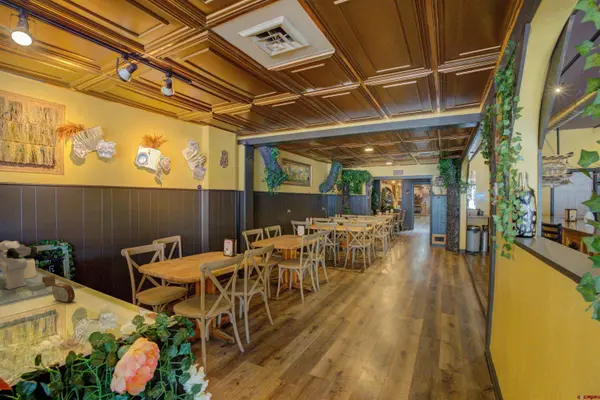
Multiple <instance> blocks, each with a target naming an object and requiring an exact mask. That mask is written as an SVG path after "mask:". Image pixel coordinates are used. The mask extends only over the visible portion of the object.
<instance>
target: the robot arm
mask: <svg viewBox="0 0 600 400" xmlns="http://www.w3.org/2000/svg"><path fill="white" fill-rule="evenodd" d="M39 251H40V250H39V249H38V247H37V246H32V247H27V246H26V245H25V244H20V242H19V241H18V240H14V241H11V240H8V239H7V240H3V241H1V242H0V270H1V272H2V273H4V274H5V282H6V285H5V286H3V287H4V288H5V289H7V290H13V289H17V288H21V287H25V286H28V283H26V282H25V280H26V279H24V270H25V268H26V267H27V261H26V259H27V258H23V257H26V256H29V255H30V256H29V258H33V257H38V253H39Z"/></svg>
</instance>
